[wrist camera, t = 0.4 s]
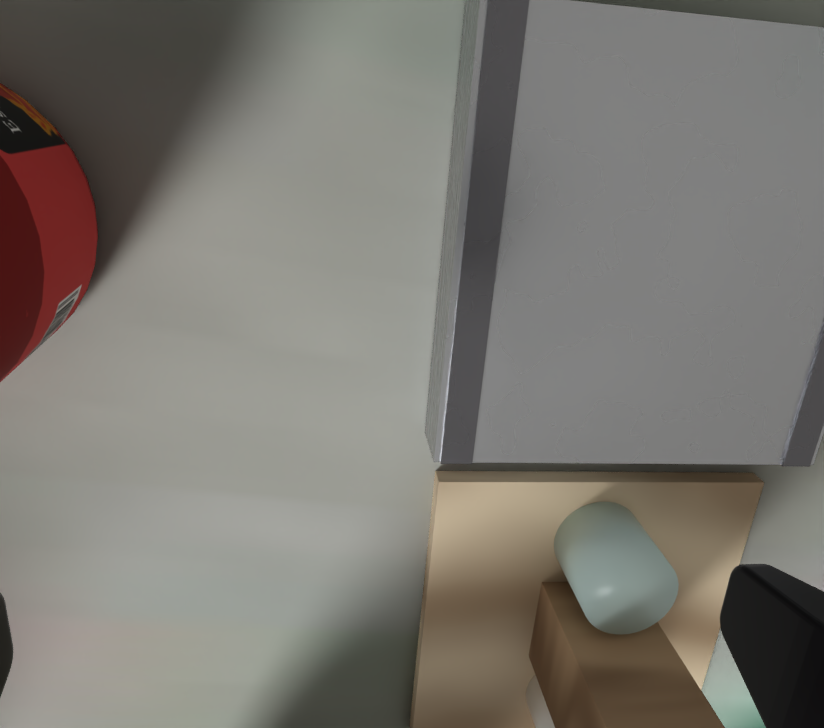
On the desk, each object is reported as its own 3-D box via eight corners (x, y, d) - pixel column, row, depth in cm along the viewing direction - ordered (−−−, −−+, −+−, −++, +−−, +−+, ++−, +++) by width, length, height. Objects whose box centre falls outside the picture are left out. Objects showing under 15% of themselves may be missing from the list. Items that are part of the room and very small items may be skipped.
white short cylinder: (596, 717, 28) (626, 785, 25) (521, 722, 28) (544, 791, 25) (609, 656, 27) (643, 719, 24) (531, 660, 26) (556, 725, 24)
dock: (776, 437, 25) (815, 466, 23) (425, 432, 23) (434, 463, 21) (895, 45, 20) (955, 40, 18) (465, 1, 18) (482, -10, 16)
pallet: (676, 703, 30) (826, 961, 21) (408, 716, 28) (447, 1002, 20) (745, 465, 26) (969, 664, 17) (433, 464, 24) (499, 683, 15)
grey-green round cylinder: (630, 575, 26) (667, 633, 23) (547, 576, 25) (575, 635, 22) (647, 501, 24) (688, 553, 22) (560, 501, 24) (591, 554, 21)
